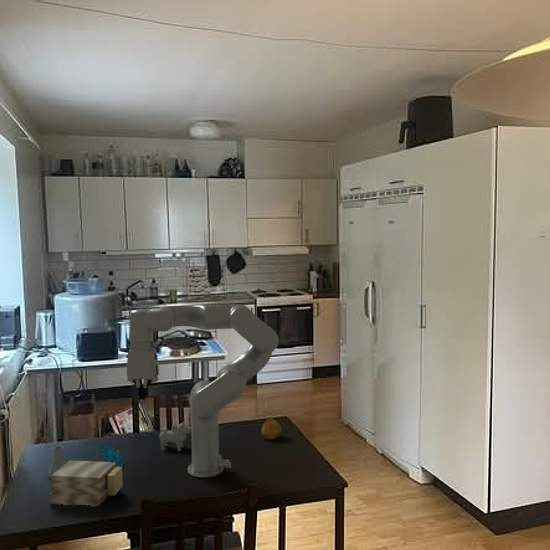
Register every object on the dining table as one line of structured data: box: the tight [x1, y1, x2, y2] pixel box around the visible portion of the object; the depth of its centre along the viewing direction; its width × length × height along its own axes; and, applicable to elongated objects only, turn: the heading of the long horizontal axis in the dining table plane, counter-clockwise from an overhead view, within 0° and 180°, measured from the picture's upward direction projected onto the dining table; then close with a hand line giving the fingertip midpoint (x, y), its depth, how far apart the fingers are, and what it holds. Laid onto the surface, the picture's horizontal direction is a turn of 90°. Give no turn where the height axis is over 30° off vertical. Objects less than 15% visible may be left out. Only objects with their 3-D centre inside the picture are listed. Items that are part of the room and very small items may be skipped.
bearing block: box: [49, 460, 116, 507], centre depth 172 cm, size 16×14×8 cm
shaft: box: [106, 467, 124, 497], centre depth 172 cm, size 20×6×6 cm, turn 83°
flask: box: [47, 445, 67, 480], centre depth 187 cm, size 7×7×10 cm
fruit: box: [261, 418, 282, 440], centre depth 221 cm, size 8×8×8 cm
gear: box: [100, 445, 125, 468], centre depth 194 cm, size 11×6×10 cm
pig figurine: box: [158, 421, 191, 452], centre depth 210 cm, size 5×13×11 cm, turn 83°
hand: (143, 398), depth 185 cm, fingers closed
